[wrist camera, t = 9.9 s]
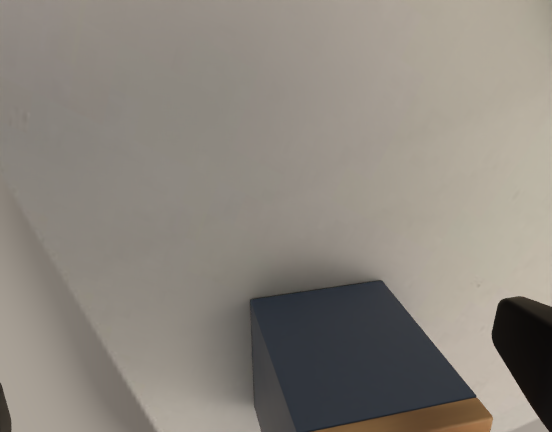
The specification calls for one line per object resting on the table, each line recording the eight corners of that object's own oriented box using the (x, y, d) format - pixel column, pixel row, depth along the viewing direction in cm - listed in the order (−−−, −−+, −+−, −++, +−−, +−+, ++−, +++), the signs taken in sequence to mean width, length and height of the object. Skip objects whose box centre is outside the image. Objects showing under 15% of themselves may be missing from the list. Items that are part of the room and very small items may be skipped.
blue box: (254, 406, 26) (296, 560, 19) (249, 299, 24) (296, 432, 17) (373, 383, 28) (452, 519, 21) (381, 279, 25) (477, 395, 18)
